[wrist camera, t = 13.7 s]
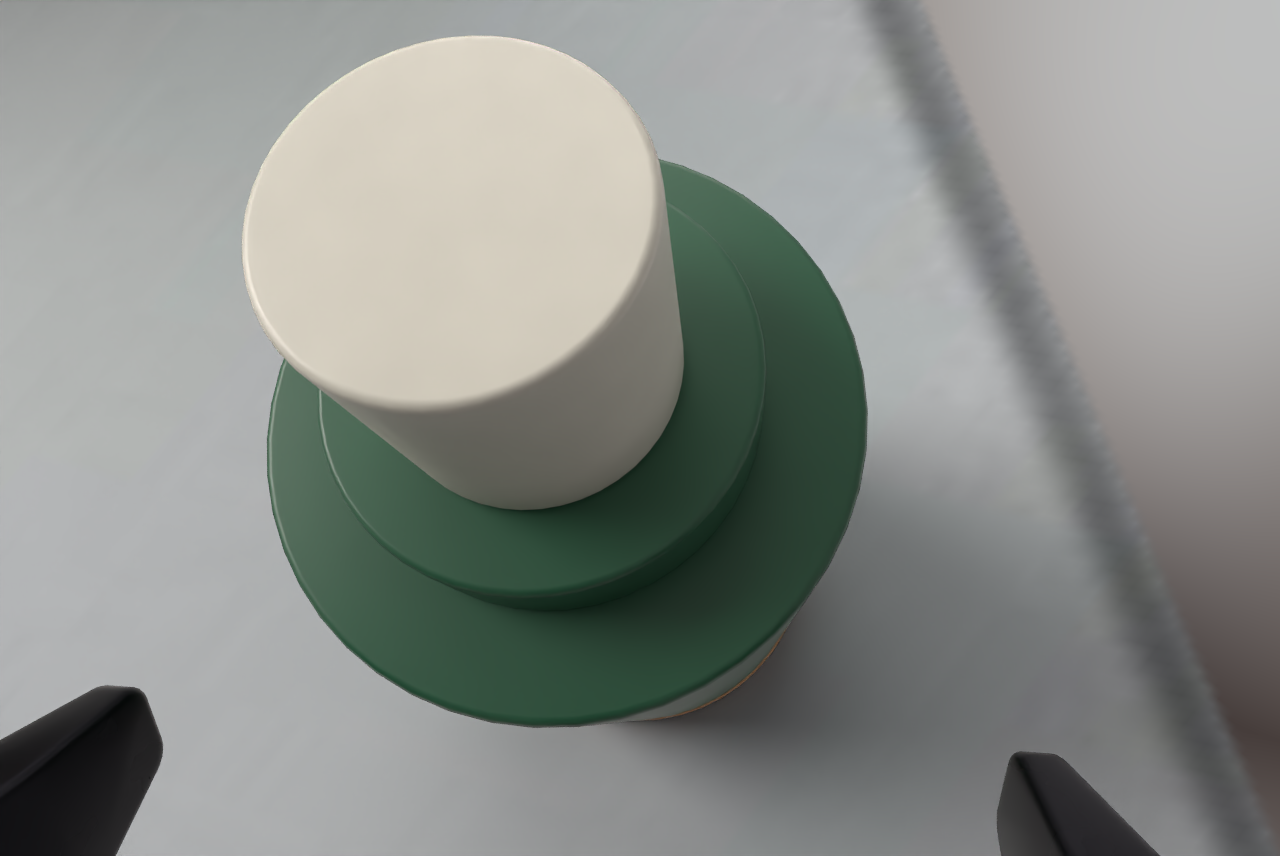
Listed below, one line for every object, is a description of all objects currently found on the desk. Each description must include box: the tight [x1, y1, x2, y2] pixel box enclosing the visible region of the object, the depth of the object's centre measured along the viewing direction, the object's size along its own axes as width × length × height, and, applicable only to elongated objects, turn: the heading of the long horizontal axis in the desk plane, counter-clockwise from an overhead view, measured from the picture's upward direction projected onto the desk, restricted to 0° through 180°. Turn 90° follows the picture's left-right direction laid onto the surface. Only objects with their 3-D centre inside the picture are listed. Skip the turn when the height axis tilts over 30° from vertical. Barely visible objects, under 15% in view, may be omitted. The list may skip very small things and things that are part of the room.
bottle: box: [242, 36, 868, 728], centre depth 10 cm, size 6×6×11 cm
